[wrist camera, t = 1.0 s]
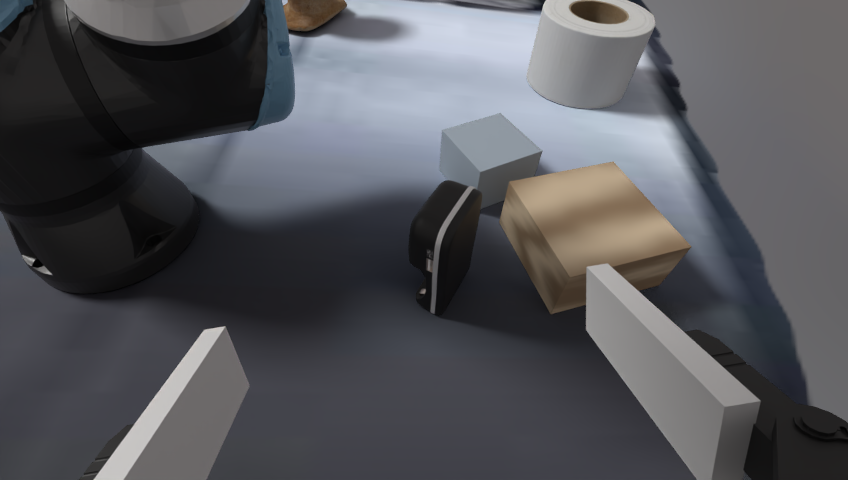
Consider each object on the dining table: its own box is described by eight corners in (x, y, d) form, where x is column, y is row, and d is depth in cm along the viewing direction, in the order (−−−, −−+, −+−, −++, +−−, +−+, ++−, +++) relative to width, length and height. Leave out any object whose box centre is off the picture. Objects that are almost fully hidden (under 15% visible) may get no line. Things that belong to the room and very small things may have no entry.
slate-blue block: (439, 171, 51) (442, 130, 46) (492, 153, 53) (500, 113, 49) (473, 212, 46) (480, 171, 42) (529, 191, 49) (542, 150, 44)
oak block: (499, 222, 45) (509, 181, 40) (593, 202, 48) (613, 161, 43) (550, 314, 38) (569, 277, 33) (659, 285, 40) (691, 246, 36)
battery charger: (437, 252, 42) (444, 165, 33) (471, 266, 41) (487, 181, 32) (403, 303, 38) (401, 220, 29) (440, 320, 37) (448, 240, 28)
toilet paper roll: (628, 71, 68) (658, 0, 60) (620, 119, 59) (654, 44, 51) (536, 52, 72) (553, -16, 63) (516, 95, 62) (532, 21, 54)
